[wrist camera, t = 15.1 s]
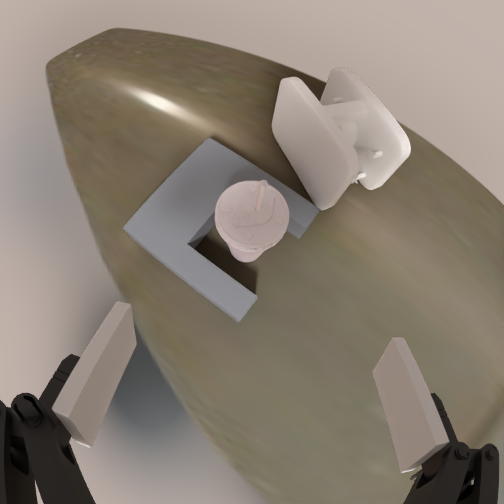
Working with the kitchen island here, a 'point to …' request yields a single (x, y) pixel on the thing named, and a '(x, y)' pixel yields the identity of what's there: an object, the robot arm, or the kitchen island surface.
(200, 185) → the notched board
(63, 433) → the robot arm
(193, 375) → the kitchen island surface
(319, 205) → the cable organizer
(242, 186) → the smoothie
